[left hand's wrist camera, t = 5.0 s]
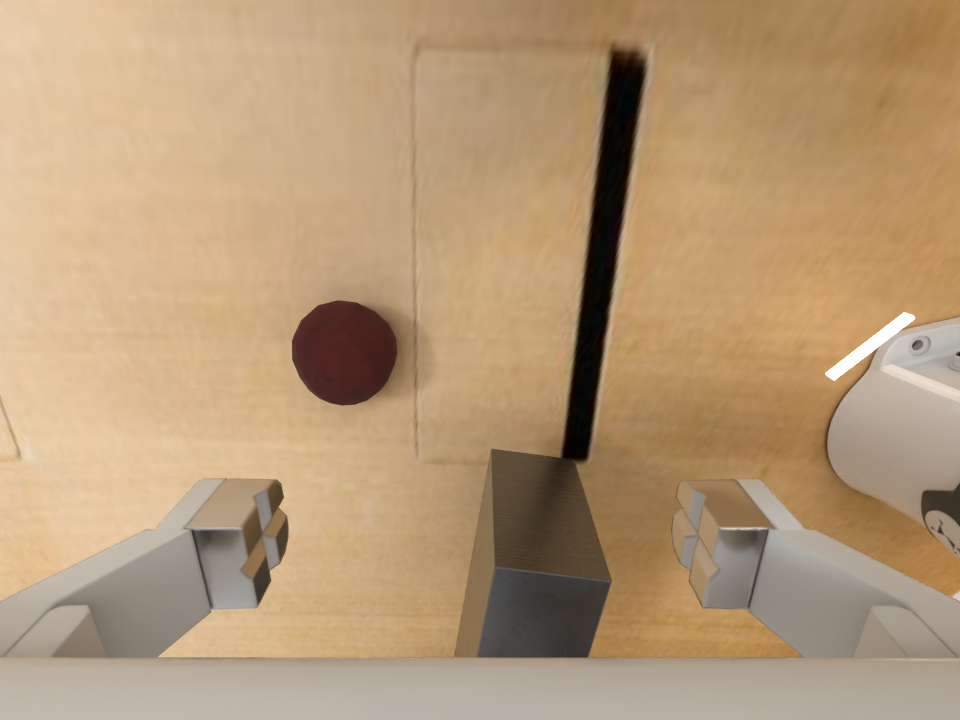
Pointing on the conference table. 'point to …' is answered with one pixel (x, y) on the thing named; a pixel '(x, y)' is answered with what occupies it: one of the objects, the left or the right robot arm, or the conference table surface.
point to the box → (533, 564)
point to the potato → (344, 352)
